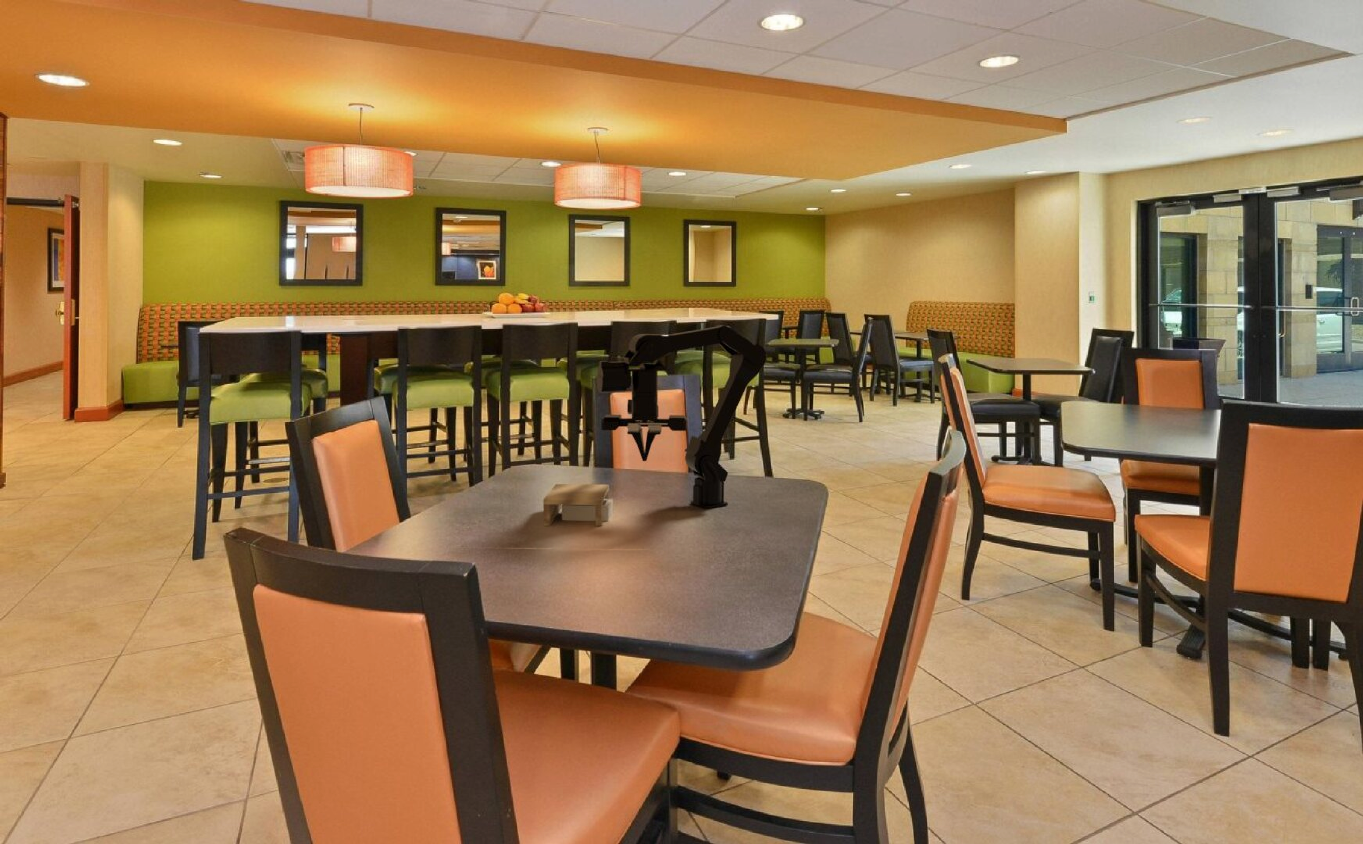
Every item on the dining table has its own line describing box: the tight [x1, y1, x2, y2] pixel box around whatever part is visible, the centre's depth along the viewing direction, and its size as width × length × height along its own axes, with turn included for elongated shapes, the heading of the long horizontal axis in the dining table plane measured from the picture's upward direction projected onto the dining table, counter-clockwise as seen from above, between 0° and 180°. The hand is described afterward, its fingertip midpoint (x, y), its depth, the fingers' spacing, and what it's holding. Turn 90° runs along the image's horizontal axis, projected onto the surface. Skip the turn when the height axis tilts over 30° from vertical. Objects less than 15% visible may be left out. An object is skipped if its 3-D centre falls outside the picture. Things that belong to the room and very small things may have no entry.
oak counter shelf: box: [542, 483, 610, 527], centre depth 167 cm, size 12×14×6 cm
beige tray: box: [561, 498, 614, 522], centre depth 168 cm, size 10×6×4 cm, turn 87°
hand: (644, 460), depth 173 cm, fingers closed
